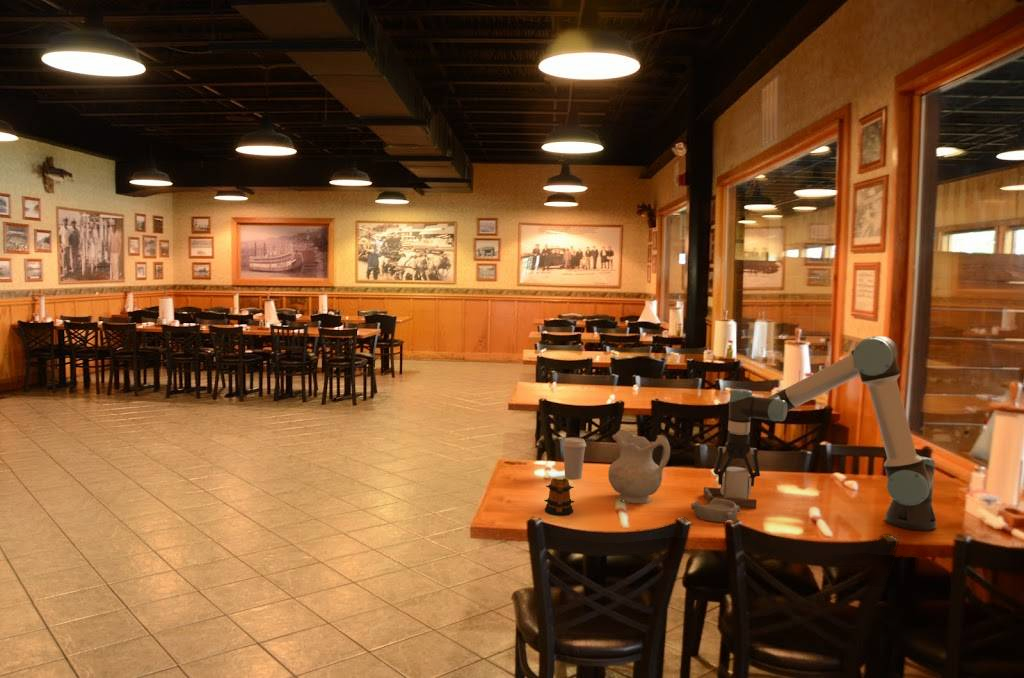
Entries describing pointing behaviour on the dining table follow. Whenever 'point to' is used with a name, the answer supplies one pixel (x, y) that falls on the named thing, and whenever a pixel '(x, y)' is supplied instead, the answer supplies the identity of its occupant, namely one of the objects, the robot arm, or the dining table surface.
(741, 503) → the u rest
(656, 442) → the ceramic pitcher
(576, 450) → the coffee cup
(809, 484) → the dining table surface
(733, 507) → the dish
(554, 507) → the brown tiered piece
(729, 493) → the cup
